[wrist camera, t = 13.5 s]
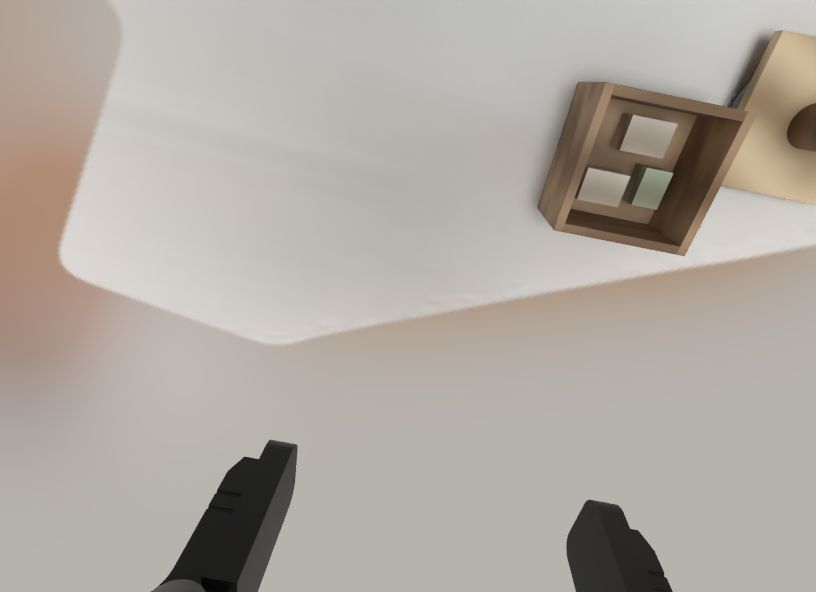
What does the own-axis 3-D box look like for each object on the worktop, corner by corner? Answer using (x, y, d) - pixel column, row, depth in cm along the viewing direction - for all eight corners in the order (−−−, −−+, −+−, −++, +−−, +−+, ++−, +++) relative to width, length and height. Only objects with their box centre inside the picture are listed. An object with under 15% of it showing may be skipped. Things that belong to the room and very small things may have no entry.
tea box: (578, 82, 32) (605, 82, 26) (705, 108, 32) (757, 113, 26) (537, 208, 36) (553, 229, 31) (649, 230, 36) (684, 256, 31)
